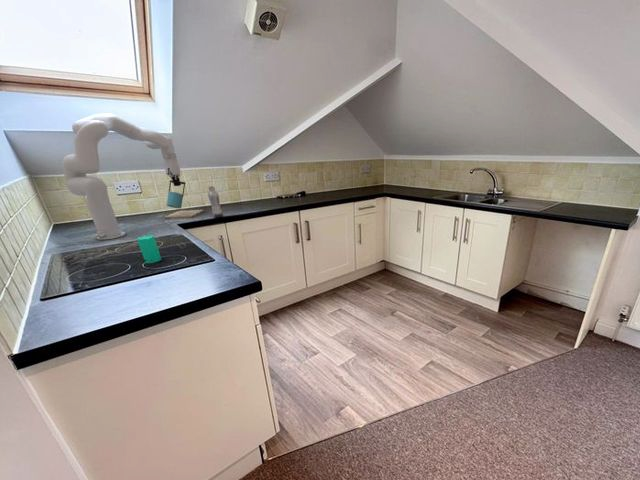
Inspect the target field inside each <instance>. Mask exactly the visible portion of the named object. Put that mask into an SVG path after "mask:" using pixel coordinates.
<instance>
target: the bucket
mask: <svg viewBox="0 0 640 480" xmlns="http://www.w3.org/2000/svg"><path fill="white" fill-rule="evenodd" d="M178 183H179V184H181V185H183V188H182V193H179V192H176V191H171V188H172V187H171V186H172V184H173V180H172V179H170V180H169V185H168V191H167V201H166V206H167V207H169V208H172V209H173V208H174V209H179V210H180V209H182V205H183V201H184V200H183V199H184V195H185V186H186V184H187V183H186V181H181V180H180V181H178Z"/></svg>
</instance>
